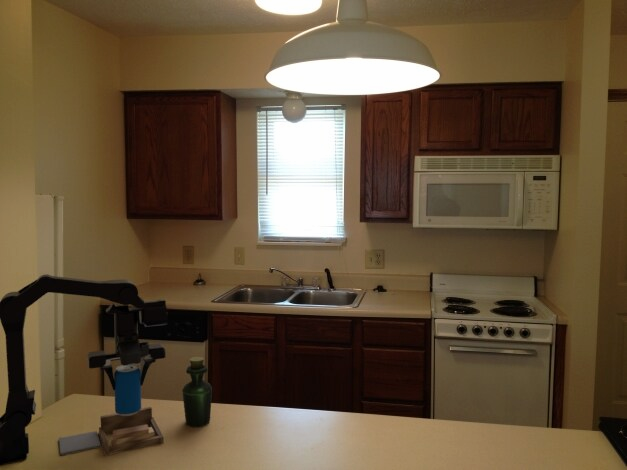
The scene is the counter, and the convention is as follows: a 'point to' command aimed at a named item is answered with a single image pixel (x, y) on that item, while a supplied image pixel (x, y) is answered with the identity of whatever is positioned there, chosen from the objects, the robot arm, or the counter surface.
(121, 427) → the rack
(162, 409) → the counter surface
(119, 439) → the offcut stack
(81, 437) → the rubber mat
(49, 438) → the counter surface
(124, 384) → the beverage can
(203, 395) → the potion bottle
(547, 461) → the counter surface
